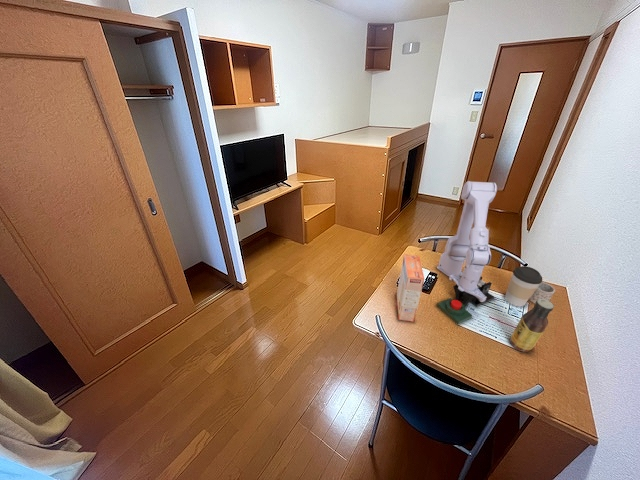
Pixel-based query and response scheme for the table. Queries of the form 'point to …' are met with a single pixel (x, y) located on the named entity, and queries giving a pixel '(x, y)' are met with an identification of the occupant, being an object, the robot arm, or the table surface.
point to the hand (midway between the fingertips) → (461, 303)
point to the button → (456, 304)
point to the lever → (477, 287)
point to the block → (454, 311)
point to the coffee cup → (522, 285)
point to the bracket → (485, 291)
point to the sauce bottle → (531, 326)
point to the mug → (542, 292)
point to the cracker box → (409, 287)
